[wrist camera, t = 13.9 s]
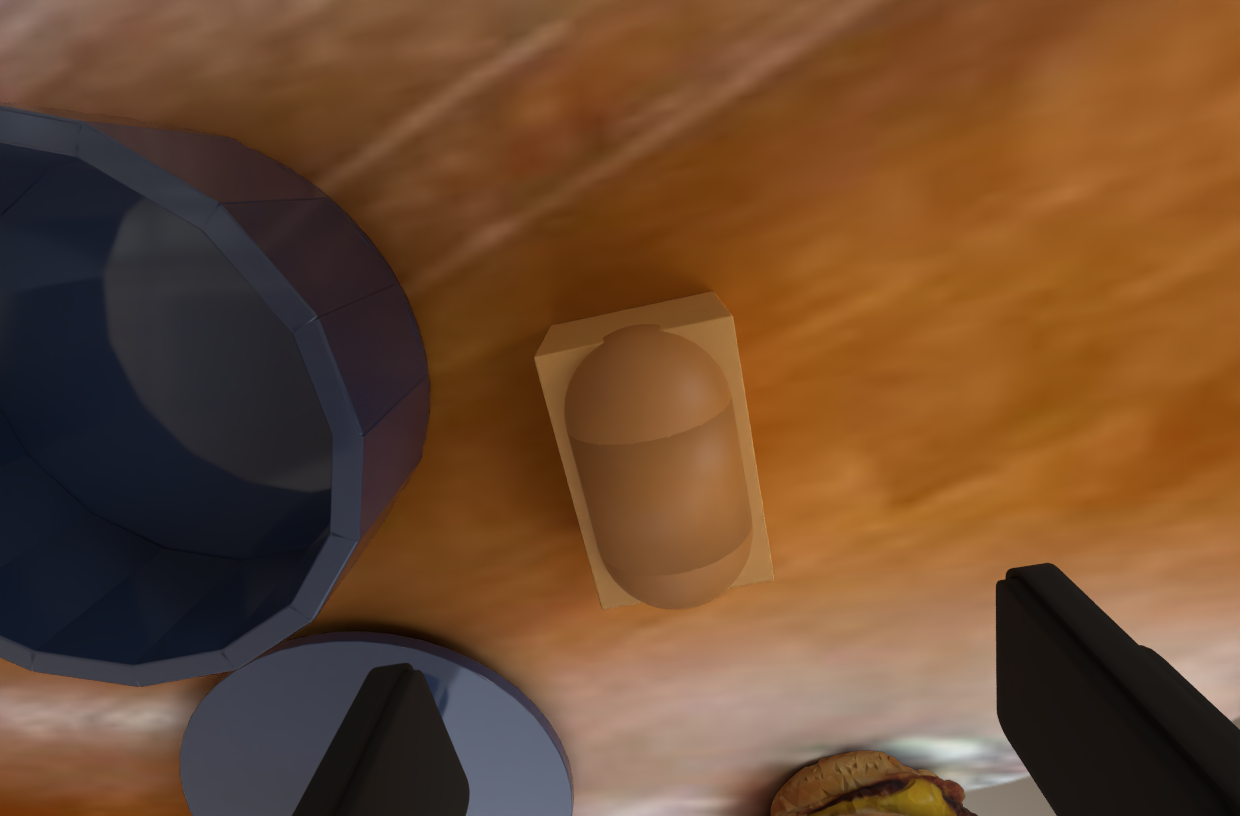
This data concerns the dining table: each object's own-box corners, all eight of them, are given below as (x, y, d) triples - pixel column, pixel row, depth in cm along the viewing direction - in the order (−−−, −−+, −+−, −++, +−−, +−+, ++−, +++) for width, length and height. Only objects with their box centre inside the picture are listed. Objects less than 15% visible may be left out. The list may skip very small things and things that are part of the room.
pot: (333, 69, 18) (202, 18, 13) (485, 526, 23) (439, 635, 18) (-135, 189, 20) (-443, 191, 14) (106, 598, 25) (-48, 720, 19)
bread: (548, 320, 21) (519, 372, 15) (712, 286, 20) (745, 326, 15) (607, 546, 24) (600, 659, 18) (751, 519, 23) (791, 627, 18)
